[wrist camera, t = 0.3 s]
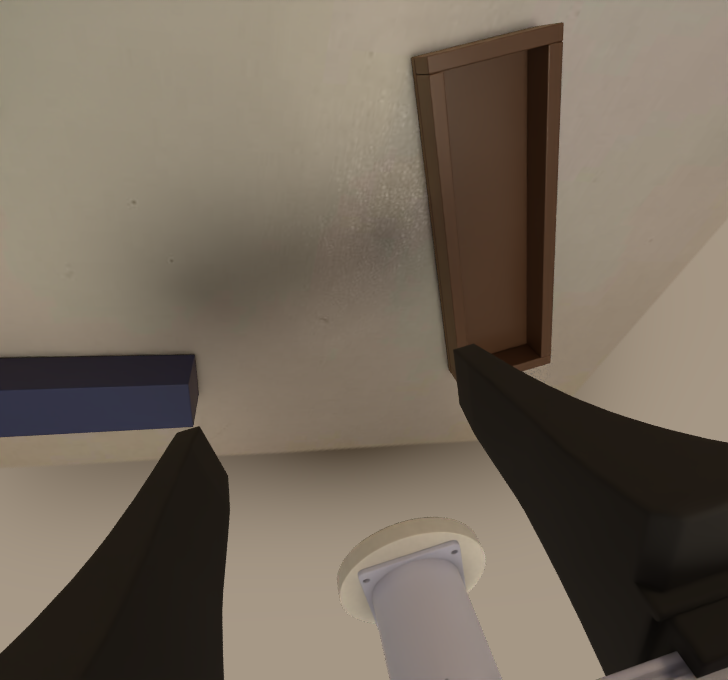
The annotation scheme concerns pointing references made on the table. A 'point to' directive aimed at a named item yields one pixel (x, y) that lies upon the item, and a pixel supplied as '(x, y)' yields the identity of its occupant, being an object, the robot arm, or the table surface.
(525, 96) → the pen tray
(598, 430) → the robot arm
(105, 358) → the marker
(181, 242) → the table surface
